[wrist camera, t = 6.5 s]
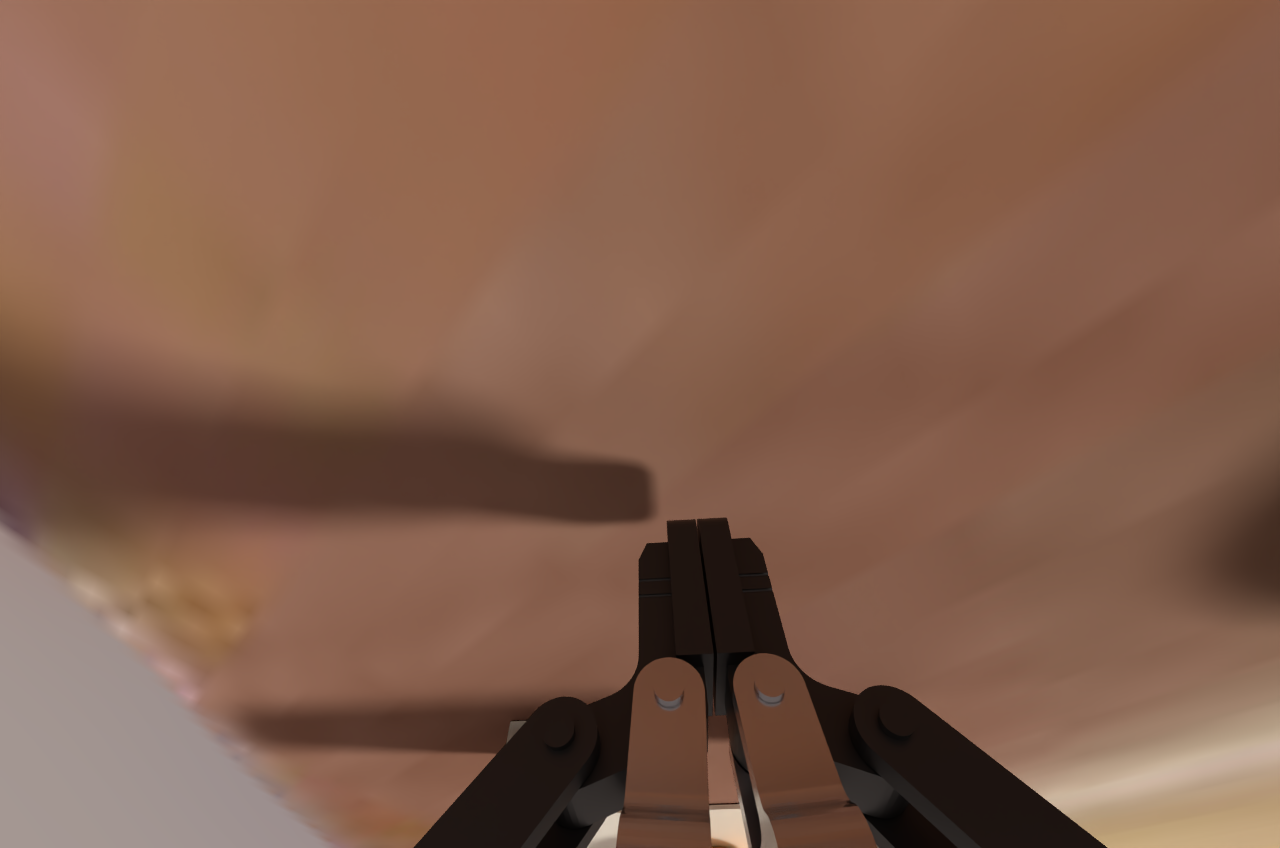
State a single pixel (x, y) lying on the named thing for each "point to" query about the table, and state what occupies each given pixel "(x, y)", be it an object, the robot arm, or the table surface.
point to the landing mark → (722, 819)
